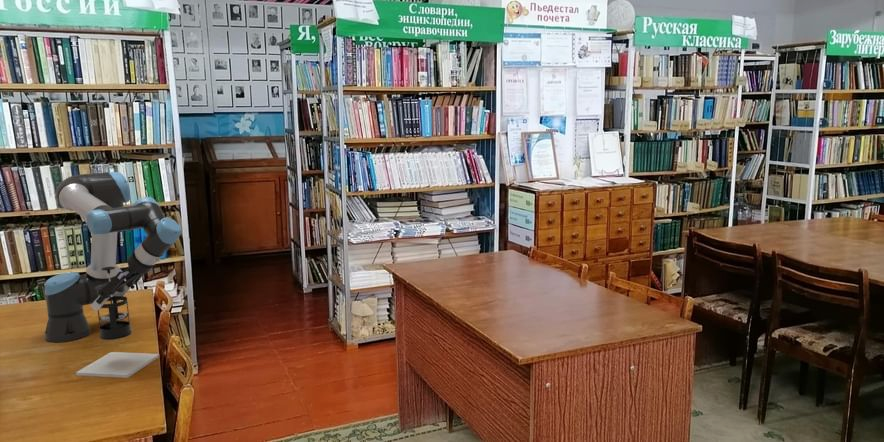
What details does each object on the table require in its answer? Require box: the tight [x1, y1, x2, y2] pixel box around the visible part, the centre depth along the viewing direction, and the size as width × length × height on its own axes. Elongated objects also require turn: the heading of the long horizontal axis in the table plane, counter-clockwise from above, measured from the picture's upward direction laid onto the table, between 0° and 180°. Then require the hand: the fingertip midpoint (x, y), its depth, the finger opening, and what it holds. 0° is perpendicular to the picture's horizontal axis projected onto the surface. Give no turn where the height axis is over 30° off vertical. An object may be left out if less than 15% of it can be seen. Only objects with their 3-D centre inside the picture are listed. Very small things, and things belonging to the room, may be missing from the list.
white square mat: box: [75, 351, 160, 379], centre depth 219 cm, size 18×18×1 cm
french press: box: [95, 267, 132, 341], centre depth 215 cm, size 12×9×23 cm
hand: (104, 303), depth 216 cm, fingers closed on french press, 10 cm apart
